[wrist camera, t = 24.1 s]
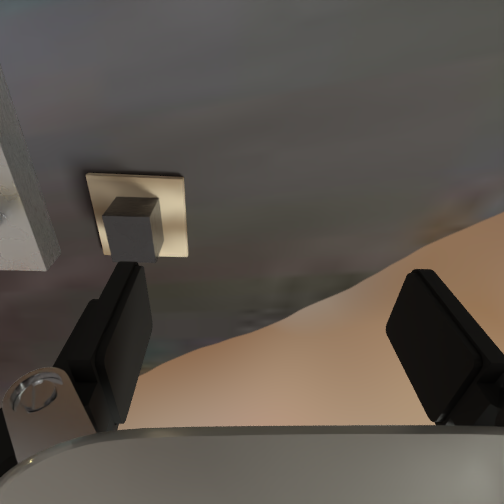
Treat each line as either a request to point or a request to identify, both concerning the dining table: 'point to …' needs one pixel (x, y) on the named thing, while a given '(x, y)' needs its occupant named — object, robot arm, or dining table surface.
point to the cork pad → (160, 187)
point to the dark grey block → (134, 229)
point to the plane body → (21, 199)
